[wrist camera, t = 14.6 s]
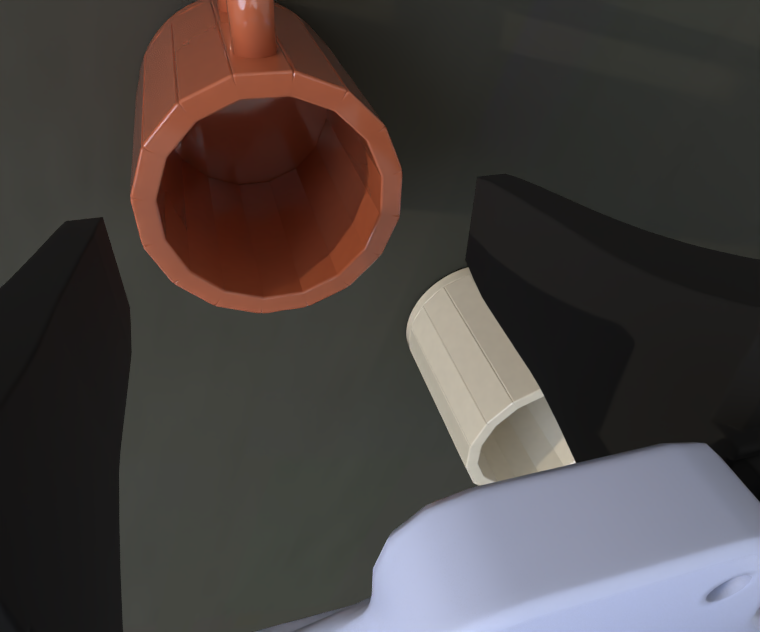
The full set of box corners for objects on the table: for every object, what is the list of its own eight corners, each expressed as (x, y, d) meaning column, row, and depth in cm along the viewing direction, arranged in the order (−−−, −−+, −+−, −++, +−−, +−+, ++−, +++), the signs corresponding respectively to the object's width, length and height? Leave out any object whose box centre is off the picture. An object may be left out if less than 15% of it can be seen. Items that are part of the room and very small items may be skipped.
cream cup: (410, 274, 24) (479, 400, 19) (542, 255, 25) (639, 368, 20) (399, 411, 29) (451, 539, 24) (509, 389, 30) (581, 506, 25)
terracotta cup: (339, 180, 20) (396, 294, 15) (161, 198, 19) (163, 329, 14) (336, -105, 15) (417, -66, 10) (92, -107, 14) (60, -63, 9)
